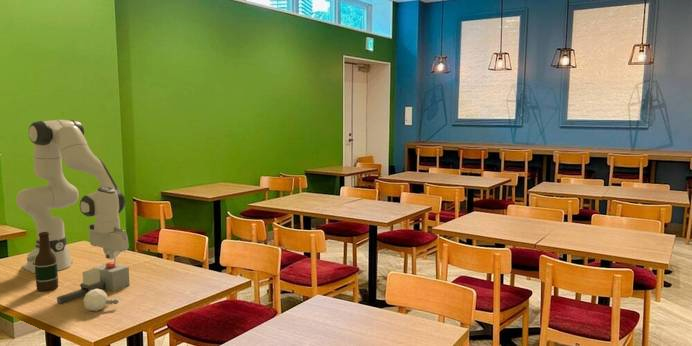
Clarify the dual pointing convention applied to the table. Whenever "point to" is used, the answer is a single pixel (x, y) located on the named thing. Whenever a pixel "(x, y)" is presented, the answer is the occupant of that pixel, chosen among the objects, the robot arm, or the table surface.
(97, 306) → the perfume bottle
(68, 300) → the rail
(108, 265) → the plunger
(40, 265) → the beer bottle
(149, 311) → the table surface
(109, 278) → the grey holed block
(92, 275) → the cream box
